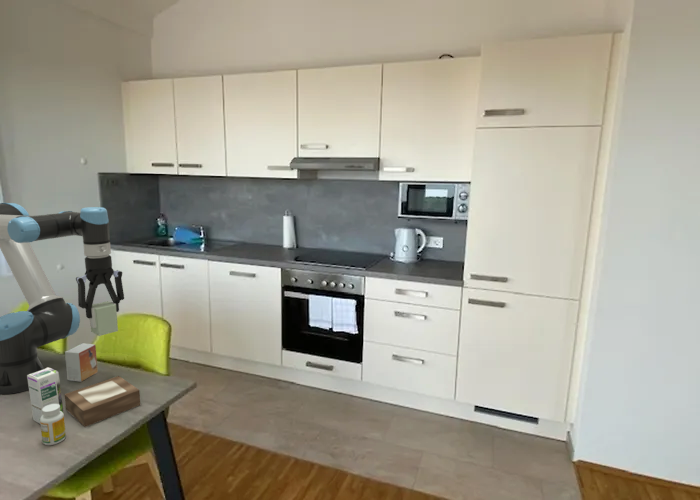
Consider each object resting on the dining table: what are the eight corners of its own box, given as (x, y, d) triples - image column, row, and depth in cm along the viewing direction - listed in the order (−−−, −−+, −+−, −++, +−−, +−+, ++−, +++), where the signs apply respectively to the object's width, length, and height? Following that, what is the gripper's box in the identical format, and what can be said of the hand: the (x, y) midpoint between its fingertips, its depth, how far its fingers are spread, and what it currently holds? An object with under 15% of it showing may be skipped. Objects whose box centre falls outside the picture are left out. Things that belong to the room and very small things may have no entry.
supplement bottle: (40, 447, 120) (36, 414, 118) (45, 436, 125) (41, 404, 123) (64, 443, 122) (60, 410, 120) (67, 432, 127) (64, 400, 125)
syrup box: (43, 426, 129) (37, 379, 127) (32, 420, 132) (26, 373, 129) (64, 416, 134) (59, 371, 131) (53, 411, 137) (47, 366, 134)
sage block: (91, 331, 151) (88, 305, 149) (109, 326, 156) (107, 301, 154) (99, 336, 147) (96, 309, 146) (118, 330, 152) (115, 305, 150)
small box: (81, 382, 155) (78, 353, 153) (67, 380, 156) (64, 351, 154) (98, 372, 162) (96, 344, 160) (84, 370, 164) (82, 342, 162)
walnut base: (65, 409, 138) (64, 393, 137) (119, 389, 150) (118, 375, 149) (84, 427, 130) (83, 410, 129) (140, 404, 142) (139, 389, 141)
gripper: (70, 262, 137) (77, 335, 142) (133, 253, 152) (137, 319, 156) (60, 258, 142) (67, 329, 146) (122, 250, 156) (127, 314, 161)
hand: (103, 324), depth 151 cm, fingers closed on sage block, 6 cm apart
